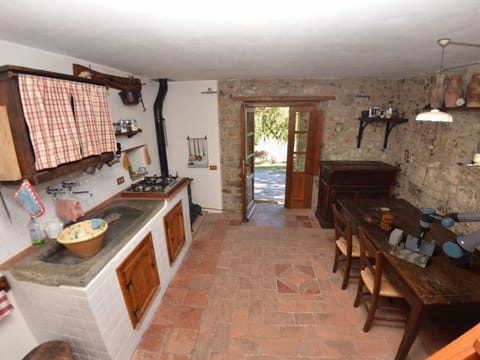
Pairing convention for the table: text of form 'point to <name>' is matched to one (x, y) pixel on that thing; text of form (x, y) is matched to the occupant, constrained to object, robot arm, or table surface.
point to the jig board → (410, 255)
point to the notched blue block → (425, 245)
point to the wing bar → (395, 236)
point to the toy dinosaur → (386, 222)
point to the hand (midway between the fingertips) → (418, 248)
